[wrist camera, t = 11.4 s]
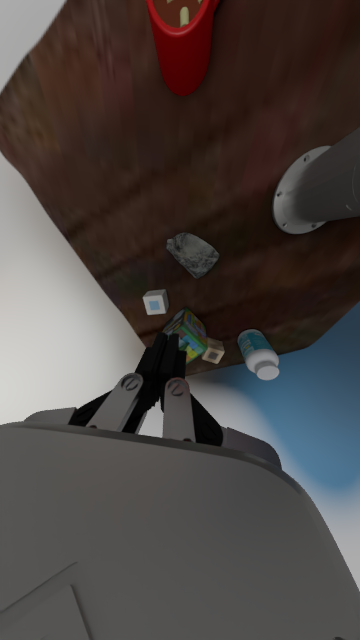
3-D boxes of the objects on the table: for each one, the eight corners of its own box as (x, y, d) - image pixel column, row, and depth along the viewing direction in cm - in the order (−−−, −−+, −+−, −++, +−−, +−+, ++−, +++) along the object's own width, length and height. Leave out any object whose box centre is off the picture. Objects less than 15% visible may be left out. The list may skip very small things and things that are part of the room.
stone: (169, 274, 28) (220, 250, 25) (158, 234, 30) (203, 207, 27) (185, 291, 36) (224, 275, 33) (176, 258, 39) (212, 241, 36)
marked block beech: (222, 341, 46) (224, 352, 42) (215, 352, 49) (217, 364, 44) (207, 337, 46) (208, 347, 41) (201, 348, 48) (202, 359, 44)
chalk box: (184, 341, 48) (180, 378, 35) (164, 323, 45) (151, 356, 32) (206, 326, 44) (210, 361, 31) (186, 305, 41) (181, 334, 28)
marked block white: (165, 289, 40) (161, 295, 35) (168, 305, 42) (165, 313, 38) (148, 291, 41) (142, 297, 36) (152, 307, 43) (147, 315, 38)
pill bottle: (239, 327, 43) (254, 360, 31) (265, 328, 42) (291, 362, 30) (235, 347, 47) (247, 383, 35) (259, 348, 46) (280, 385, 34)
